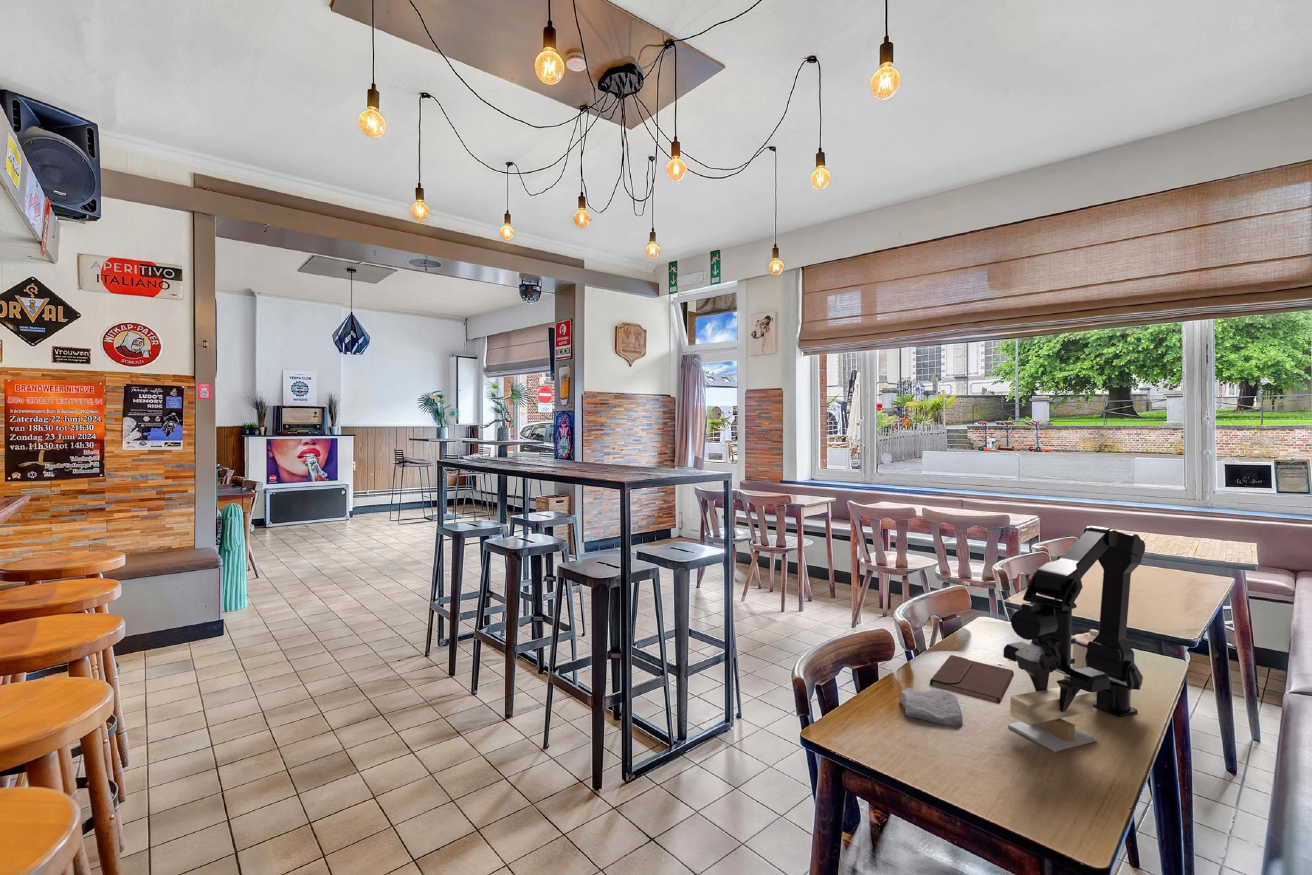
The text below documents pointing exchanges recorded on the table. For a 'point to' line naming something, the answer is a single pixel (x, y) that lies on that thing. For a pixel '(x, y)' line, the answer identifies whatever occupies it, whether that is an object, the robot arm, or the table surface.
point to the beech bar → (1048, 705)
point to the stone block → (932, 706)
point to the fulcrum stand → (1053, 734)
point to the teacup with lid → (1082, 647)
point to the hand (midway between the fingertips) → (1052, 706)
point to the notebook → (973, 678)
